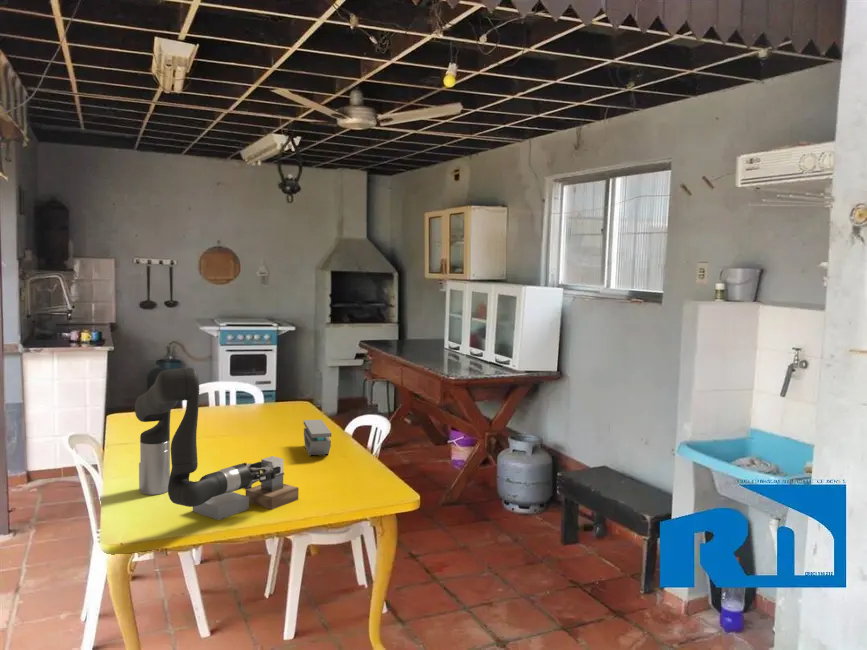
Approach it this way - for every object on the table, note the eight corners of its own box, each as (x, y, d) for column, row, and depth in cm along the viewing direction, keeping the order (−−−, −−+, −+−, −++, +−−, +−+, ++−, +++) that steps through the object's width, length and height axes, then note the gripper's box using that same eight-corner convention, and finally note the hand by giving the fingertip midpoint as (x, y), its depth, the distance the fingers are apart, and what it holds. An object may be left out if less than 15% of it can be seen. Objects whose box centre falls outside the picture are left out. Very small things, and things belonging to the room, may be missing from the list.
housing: (260, 489, 224) (260, 459, 223) (272, 485, 228) (272, 455, 227) (271, 492, 221) (272, 462, 220) (283, 488, 225) (284, 458, 224)
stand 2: (245, 501, 223) (245, 489, 223) (272, 492, 233) (272, 480, 233) (271, 509, 217) (271, 497, 216) (298, 499, 227) (298, 487, 226)
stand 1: (192, 511, 213) (192, 499, 212) (223, 501, 223) (223, 489, 223) (218, 520, 206) (218, 507, 206) (248, 509, 216) (248, 496, 216)
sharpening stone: (331, 459, 274) (331, 433, 273) (311, 460, 272) (311, 434, 271) (321, 443, 298) (321, 419, 297) (303, 444, 295) (303, 420, 295)
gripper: (247, 471, 205) (286, 459, 219) (216, 463, 213) (255, 452, 227) (247, 495, 206) (286, 482, 220) (215, 486, 214) (255, 474, 227)
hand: (270, 467), depth 223 cm, fingers open, 8 cm apart
